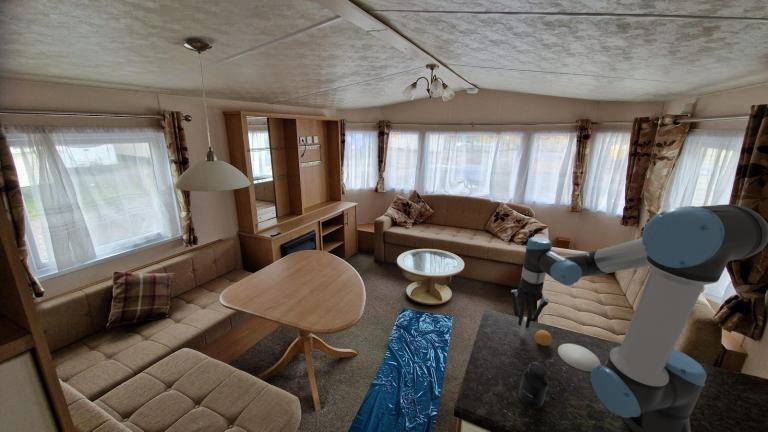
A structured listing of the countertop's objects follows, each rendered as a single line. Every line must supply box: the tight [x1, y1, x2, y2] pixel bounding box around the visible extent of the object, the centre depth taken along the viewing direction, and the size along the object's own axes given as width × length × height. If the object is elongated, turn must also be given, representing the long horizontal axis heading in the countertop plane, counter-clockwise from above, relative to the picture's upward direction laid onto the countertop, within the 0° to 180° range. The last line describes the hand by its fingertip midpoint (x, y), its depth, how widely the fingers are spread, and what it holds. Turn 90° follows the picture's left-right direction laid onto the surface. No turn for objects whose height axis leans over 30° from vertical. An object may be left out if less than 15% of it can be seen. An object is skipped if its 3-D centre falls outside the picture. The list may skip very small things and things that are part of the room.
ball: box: [534, 329, 552, 347], centre depth 116 cm, size 6×6×6 cm
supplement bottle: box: [518, 361, 549, 409], centre depth 92 cm, size 7×7×12 cm
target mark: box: [557, 343, 601, 372], centre depth 111 cm, size 13×13×1 cm
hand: (522, 333), depth 119 cm, fingers closed
